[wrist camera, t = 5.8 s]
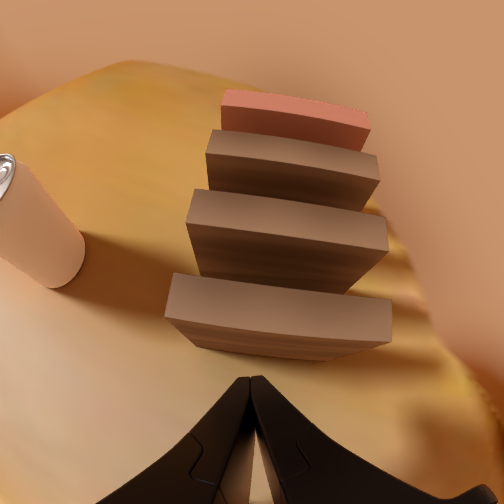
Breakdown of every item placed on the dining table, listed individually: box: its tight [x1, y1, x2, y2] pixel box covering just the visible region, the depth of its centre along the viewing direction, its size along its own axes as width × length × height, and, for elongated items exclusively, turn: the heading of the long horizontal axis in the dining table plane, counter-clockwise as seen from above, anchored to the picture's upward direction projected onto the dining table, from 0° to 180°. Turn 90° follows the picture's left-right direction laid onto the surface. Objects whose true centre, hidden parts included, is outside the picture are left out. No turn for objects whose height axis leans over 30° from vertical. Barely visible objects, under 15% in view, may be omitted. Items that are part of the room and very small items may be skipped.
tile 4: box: [221, 89, 371, 152], centre depth 23 cm, size 2×10×11 cm, turn 83°
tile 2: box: [186, 189, 389, 294], centre depth 19 cm, size 2×10×11 cm, turn 83°
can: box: [0, 153, 85, 288], centre depth 19 cm, size 6×6×12 cm
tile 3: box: [205, 130, 380, 212], centre depth 21 cm, size 2×10×11 cm, turn 83°
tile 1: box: [164, 272, 392, 361], centre depth 17 cm, size 2×10×11 cm, turn 83°
